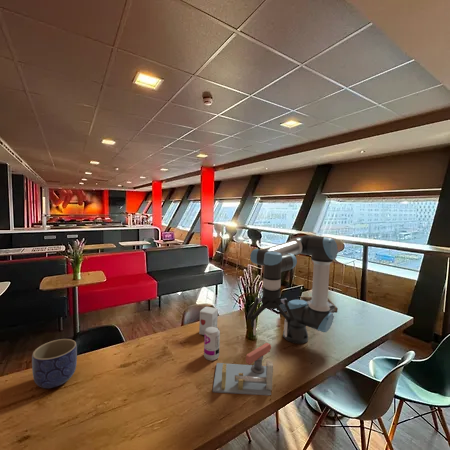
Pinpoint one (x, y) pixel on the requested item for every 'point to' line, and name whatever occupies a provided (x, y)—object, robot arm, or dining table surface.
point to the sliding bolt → (263, 380)
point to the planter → (54, 363)
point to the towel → (327, 304)
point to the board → (248, 388)
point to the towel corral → (311, 299)
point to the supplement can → (211, 343)
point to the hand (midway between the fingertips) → (269, 334)
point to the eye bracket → (240, 383)
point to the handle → (258, 353)
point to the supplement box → (207, 318)
